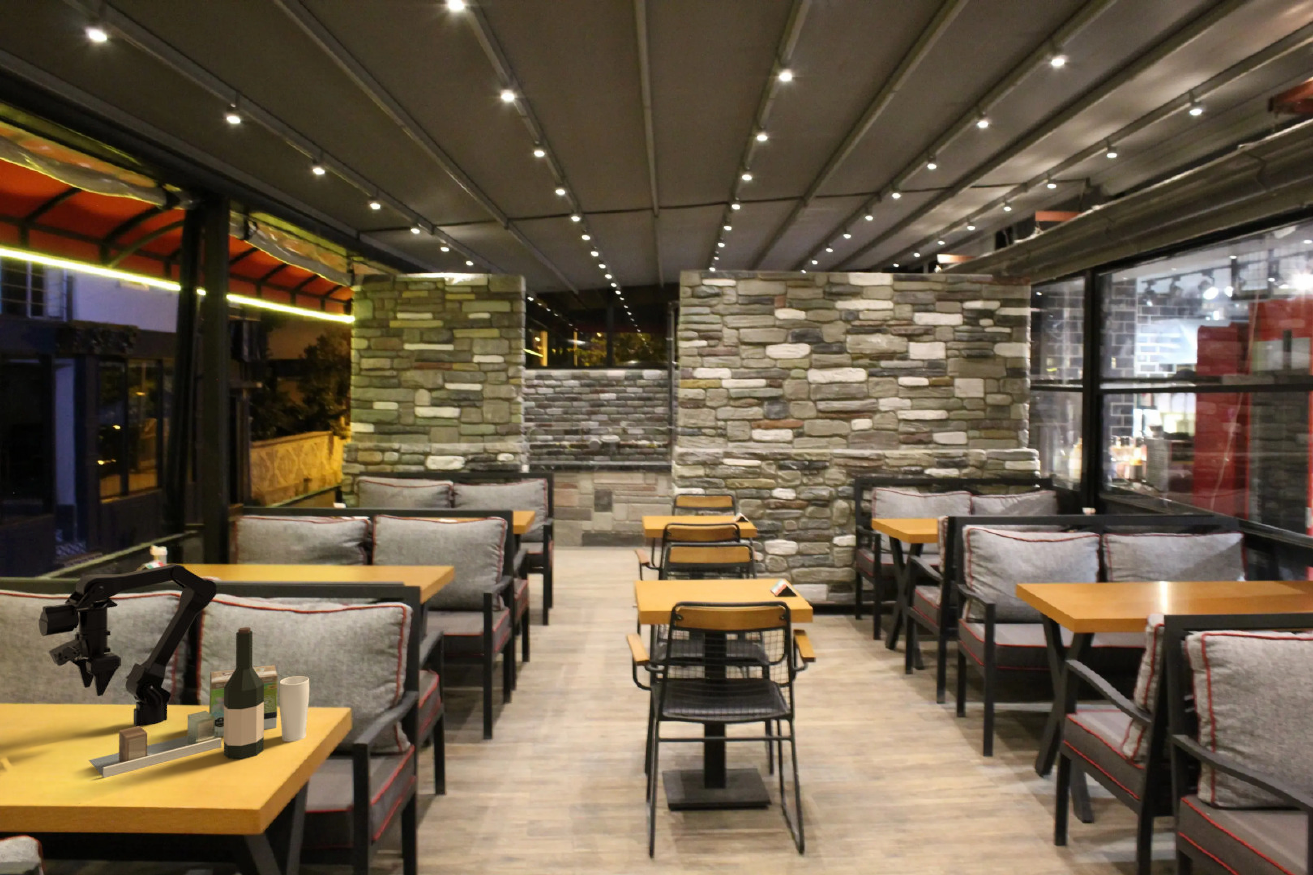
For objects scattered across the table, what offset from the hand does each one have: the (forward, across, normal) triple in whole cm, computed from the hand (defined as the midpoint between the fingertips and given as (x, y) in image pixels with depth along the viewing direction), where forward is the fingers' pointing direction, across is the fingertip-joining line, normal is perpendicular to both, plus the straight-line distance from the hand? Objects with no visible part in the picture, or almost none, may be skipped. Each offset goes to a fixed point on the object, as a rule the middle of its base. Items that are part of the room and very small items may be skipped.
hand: (93, 691), depth 197 cm
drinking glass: (+12, +37, +31) cm, 50 cm away
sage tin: (+11, +25, +14) cm, 31 cm away
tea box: (+12, +20, +26) cm, 36 cm away
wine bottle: (+12, +37, +19) cm, 43 cm away
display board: (+12, +22, +6) cm, 26 cm away
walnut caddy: (+11, +24, +1) cm, 26 cm away
